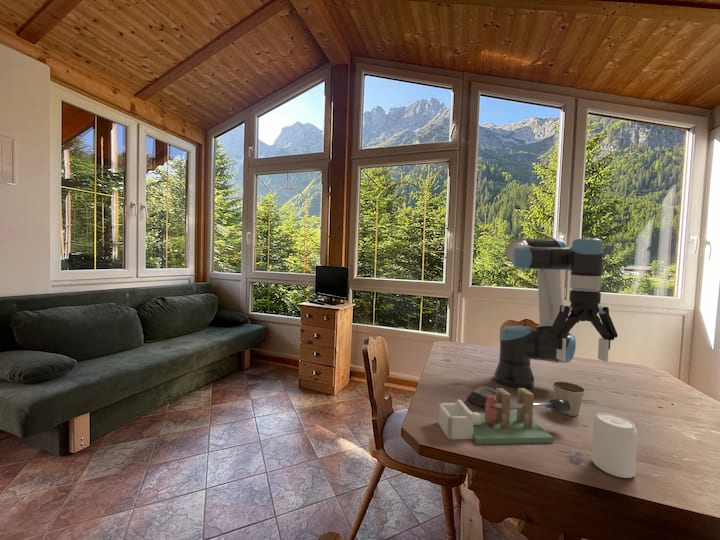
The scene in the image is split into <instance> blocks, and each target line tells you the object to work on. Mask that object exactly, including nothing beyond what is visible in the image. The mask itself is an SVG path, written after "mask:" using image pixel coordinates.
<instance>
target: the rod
mask: <svg viewBox="0 0 720 540" xmlns="http://www.w3.org/2000/svg"><path fill="white" fill-rule="evenodd" d="M486 402H487V403H485V407H484V413H485V421H486V422H487V423H488V424H489V425H490V426H495V409H502V403H495V397H494V396H492V395H487V401H486ZM510 409H511V410H517V409H524V403H517V402H510ZM535 409H536V410H538V409H539V410H542V409H544V410H545V409H548V410H549V409H550V410H551V411H552V412H553V413H561V412H569V411H570V404H569V402H568V401H567V400H566V399H556V398H551V399H549V401H548V402H533V410H535Z"/></svg>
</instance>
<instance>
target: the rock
mask: <svg viewBox="0 0 720 540" xmlns="http://www.w3.org/2000/svg"><path fill="white" fill-rule="evenodd" d="M487 395H492V396H494V397H495V401H496V389H494V388H492V387H489V386H484V385H478V387H477V388H475V389H474V390H473V391H471V393H470V394H469V395H468V396H467V398H466V399H467V400H469V401H471V403H474V404H475V405H478V406H481V407H483V408H485V403H487V402H486V401H487ZM511 410H512V409H510V411H511Z"/></svg>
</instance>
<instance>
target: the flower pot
mask: <svg viewBox="0 0 720 540" xmlns="http://www.w3.org/2000/svg"><path fill="white" fill-rule="evenodd" d="M551 386H552V387H553V390H554V396H555V398H554V399H566V400H567V401H568V402H569V404H570V411H569V412H560V413H561V414H562V415H563V414H565V415H567V416H569V417H577V416H579V414H580V409H581V405H582V400H583V397H584V395H585V393H586V392H587V390H586V388H585V387H583V386H581V385H578V384H577V383H573V382H568V381H563V380H561V381H560V380H555V381H553V382H552V383H551Z"/></svg>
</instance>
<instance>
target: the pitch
mask: <svg viewBox="0 0 720 540" xmlns="http://www.w3.org/2000/svg"><path fill="white" fill-rule="evenodd" d="M478 413H479V414H480V415H481V416H482V418H483V422H482V424H481V425H479V426H476V425H473V439H472V440H473V441H474V442H475V444H476V445H496V444H497V445H499V444H501V445H503V444H506V445H507V444H511V445H512V444H542V443H543V444H546V443H548V444H550V443H554V436H552V434H551V433H549V432H548V431H547V430H545V429H544V428H543V427H541V426H540V425H539V424H538V423H537V422H535V421H534V420H533V419H532V428H525V427H524V422H518V421H517V411H516V412H510V423H509V428H505V429H503V428H502V427H501V422H496V421H495V426H490V425H489V424H488V423H487V422H486V421H485V412H478ZM461 416H469V415H468V414H467V413H466V412H461Z"/></svg>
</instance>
